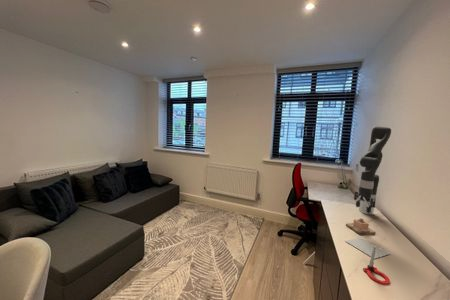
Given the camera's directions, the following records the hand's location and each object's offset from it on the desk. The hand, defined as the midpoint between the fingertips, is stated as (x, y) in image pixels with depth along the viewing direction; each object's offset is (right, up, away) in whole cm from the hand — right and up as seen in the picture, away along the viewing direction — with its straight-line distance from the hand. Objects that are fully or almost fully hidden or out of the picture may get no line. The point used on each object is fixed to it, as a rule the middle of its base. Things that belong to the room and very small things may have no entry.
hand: (362, 209), depth 133 cm
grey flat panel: (-6, -18, -21) cm, 28 cm away
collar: (-1, -13, +1) cm, 13 cm away
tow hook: (-23, -19, -42) cm, 52 cm away
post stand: (-1, -15, +2) cm, 15 cm away
